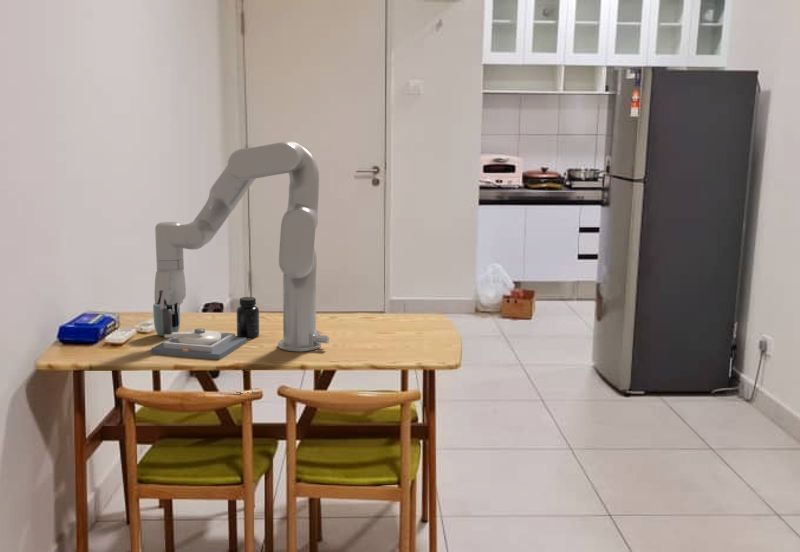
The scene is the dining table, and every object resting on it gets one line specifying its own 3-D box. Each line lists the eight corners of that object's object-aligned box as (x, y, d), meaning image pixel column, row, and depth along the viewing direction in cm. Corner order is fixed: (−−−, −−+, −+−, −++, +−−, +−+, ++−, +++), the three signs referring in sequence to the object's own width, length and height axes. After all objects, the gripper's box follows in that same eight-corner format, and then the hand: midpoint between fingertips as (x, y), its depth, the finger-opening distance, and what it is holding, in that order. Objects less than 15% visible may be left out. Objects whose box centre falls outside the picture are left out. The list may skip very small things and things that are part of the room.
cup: (184, 332, 244) (183, 301, 242) (175, 339, 236) (173, 307, 234) (160, 331, 245) (159, 300, 243) (150, 337, 237) (148, 305, 235)
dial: (222, 336, 234) (221, 303, 232) (220, 347, 222) (219, 313, 220) (165, 337, 231) (164, 305, 229) (160, 349, 219) (159, 314, 218)
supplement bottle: (232, 337, 240) (231, 299, 237) (246, 332, 246) (245, 295, 243) (250, 340, 237) (249, 301, 234) (263, 335, 242) (263, 297, 240)
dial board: (246, 342, 234) (246, 333, 233) (219, 359, 217) (219, 349, 216) (182, 337, 238) (182, 327, 238) (151, 353, 221) (151, 343, 220)
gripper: (172, 260, 234) (174, 319, 237) (144, 268, 220) (146, 331, 223) (194, 261, 232) (196, 321, 235) (167, 270, 218) (170, 333, 221)
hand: (172, 326), depth 229 cm, fingers closed
